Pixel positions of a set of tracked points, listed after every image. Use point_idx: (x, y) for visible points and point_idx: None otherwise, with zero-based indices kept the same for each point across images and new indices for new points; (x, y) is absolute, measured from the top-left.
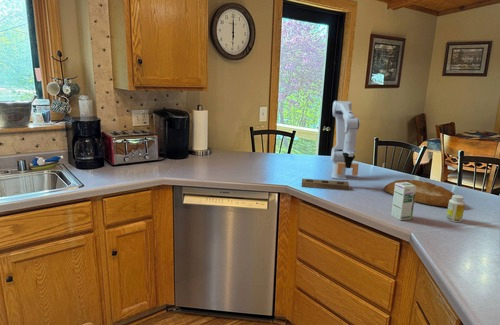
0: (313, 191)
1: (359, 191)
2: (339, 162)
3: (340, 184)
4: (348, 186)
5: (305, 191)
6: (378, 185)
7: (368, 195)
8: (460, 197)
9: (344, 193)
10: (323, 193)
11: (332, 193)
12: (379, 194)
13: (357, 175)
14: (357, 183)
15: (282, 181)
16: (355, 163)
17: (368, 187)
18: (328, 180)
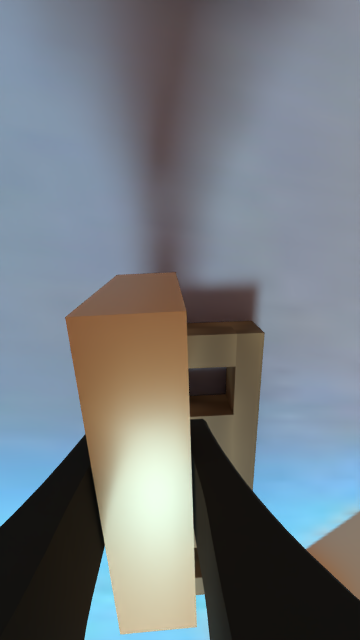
0: (306, 507)
1: (263, 245)
2: (122, 613)
3: (246, 395)
4: (260, 336)
5: (311, 538)
6: (21, 2)
7: (352, 185)
8: None
9: (323, 354)
10: (335, 464)
11: (330, 421)
12: (319, 71)
13: (174, 272)
14: (38, 232)
15: (166, 631)
16: (100, 373)
17: (131, 142)
18: None
